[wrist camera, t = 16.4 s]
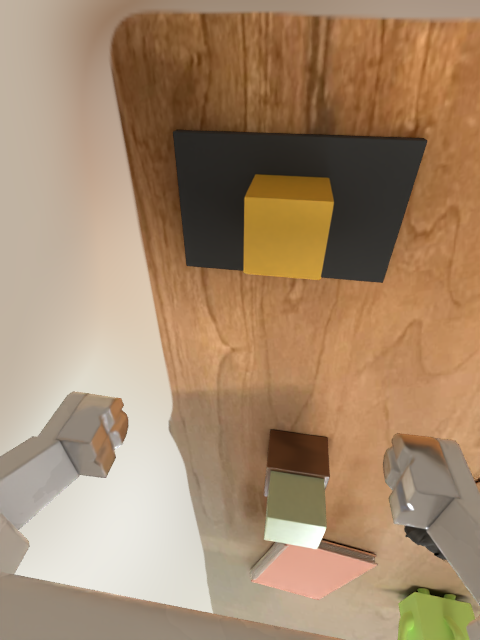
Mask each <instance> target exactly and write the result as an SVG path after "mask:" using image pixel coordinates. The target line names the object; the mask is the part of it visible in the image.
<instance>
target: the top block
mask: <svg viewBox="0 0 480 640" xmlns="http://www.w3.org/2000/svg"><path fill="white" fill-rule="evenodd" d="M333 206H334V199H333V194H332V189H331V184H330V179H329V178H321V177H300V176H279V175H258V174H256V175H255V176H254V178H253V180H252V183H251V185H250V187H249V189H248V191H247V193H246V195H245V197H244V267H243V273H244V274H253V275H265V276H277V277H289V278H300V279H312V280H320V279H321V274H322V268H323V262H324V257H325V251H326V245H327V240H328V234H329V229H330V223H331V217H332V212H333Z"/></svg>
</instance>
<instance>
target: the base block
mask: <svg viewBox="0 0 480 640" xmlns="http://www.w3.org/2000/svg"><path fill="white" fill-rule="evenodd" d="M271 471H277V472H283V473H289V474H296V475H302V476H309V477H315V478H321V479H324V481H325V489H326V486H327V483H328V480H329V477H330V473H329V455H328V438H326V437H319V436H312V435H305V434H298V433H291V432H284V431H277V430H270V439H269V448H268V458H267V467H266V477H265V487H264V496H268V490H269V482H270V474H271Z"/></svg>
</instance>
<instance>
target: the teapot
mask: <svg viewBox="0 0 480 640" xmlns="http://www.w3.org/2000/svg"><path fill="white" fill-rule="evenodd" d="M417 590H418V593H417V592H414V593H412V594H411V595H409V596H408V597H407V598H405V599H404V600H403V601H401V602H400V603H398V604H399V610H400V616H401V618H400V621H399V630H398V640H470V639H469V636H468V632H467V629H466V627H467V625H468V624H469V623H470V622H471V621H472V620H474V619H475V617H474V613H473V610H472V607H471V604H470V603H465V602H460V601H456V600H455V598H456V596H455V595H453V594H445V595H444V598H441V597H437V596H432V595H430V593H429V590H428V589H424V588H419V589H417Z"/></svg>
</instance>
